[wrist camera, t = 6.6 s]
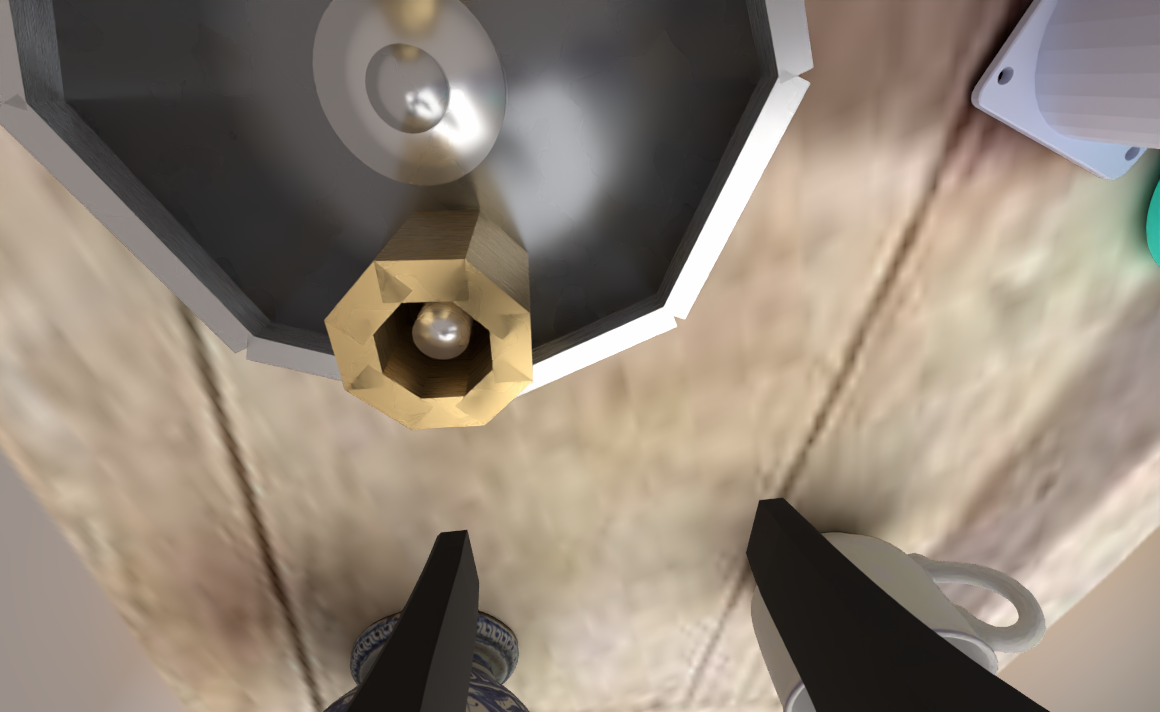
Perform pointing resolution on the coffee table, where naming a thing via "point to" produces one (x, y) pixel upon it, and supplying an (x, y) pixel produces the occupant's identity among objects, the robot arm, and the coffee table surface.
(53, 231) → the coffee table surface
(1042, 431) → the coffee table surface
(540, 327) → the tray
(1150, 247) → the donuts
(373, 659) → the decorative vase
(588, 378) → the coffee table surface
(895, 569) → the teacup
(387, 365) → the gear
